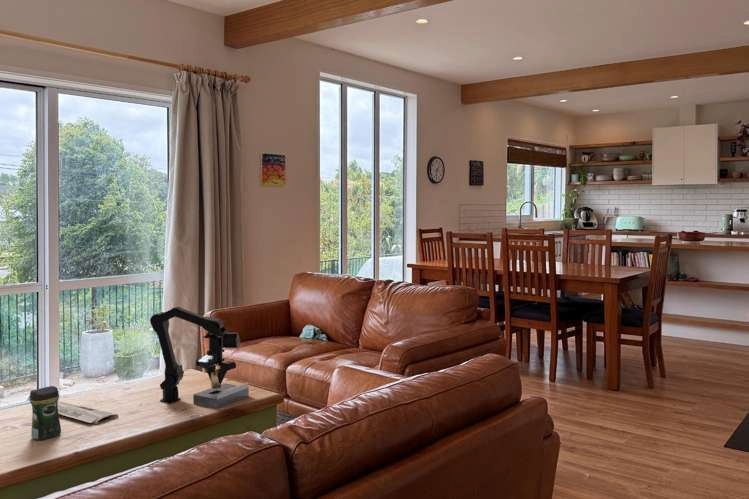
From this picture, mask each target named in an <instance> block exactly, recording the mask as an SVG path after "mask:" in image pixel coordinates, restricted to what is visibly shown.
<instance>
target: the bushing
mask: <svg viewBox="0 0 749 499" xmlns="http://www.w3.org/2000/svg"><path fill="white" fill-rule="evenodd" d="M221 385H222V383H221V384H219V377H218V372H217V369H215V371H211V381H210V388H212V389H218V388H221Z"/></svg>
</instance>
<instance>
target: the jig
mask: <svg viewBox="0 0 749 499" xmlns="http://www.w3.org/2000/svg"><path fill="white" fill-rule="evenodd" d="M249 386H250V384H249V382H245V383H244V382H243V383H241V384H238V385H237V384H232V383H227V382H225V383H221V388H218V389H212V388H211V387H210V388H207V389H205V390H202V391H199V392H196V393H193V394H192V396H193V397H192V398H193V401H192V402H193V404H194V405H199V406H204V407H208V408H212V409H219V408H222V407H225V406H227V405H229V404H230V405H231V404H233V403H235V402H238V401H240V400H242V399H245V398H248V397H250V392H249V391H250V388H249Z"/></svg>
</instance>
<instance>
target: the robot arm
mask: <svg viewBox="0 0 749 499" xmlns="http://www.w3.org/2000/svg"><path fill="white" fill-rule="evenodd" d="M173 318H177V319H180V320H182V321H183V320H184V321H186V322H189V323H192V324H194V325H197V326H200V327H201V328H202V329H203V330H205V331H206V332H207V333H206V334H205V335H204V336H203V338H204V339H208V350H206V354H205V355H204V356H202V357H198V358H197V359H196V361H195V366H198V367H199V366H200V368H201V369H204V370H205V371H206V373H207V375H208V377H209V380H210V382H211V371H215V370H217V372H218V377H219V384H221V385H222V384H223V380H224V378H225V376H226V374H227V373H228V371H230V370H234V369H236V368H237V363H236V362H235V361H232V360H227V361H225V358H224V357H223V353H224V352H225V349H239V348H240V345H241V339H240V335H239V332H229V331H228V329H227V328H226V327H225V325H224V321H223V320H222V319H221V318H218V317H212V316H211V317H210V316H203V315H201V314H199V313H196V312H193V311H191V310H187V309H185V308H184V307H181V306H174V307H171V309H169V310H167V311H160V312H157V313H155V314H152V316H151V317H150V318H149V323H150V325H151V327H152V330H153V331H154V332H155V333H156V335H157V337H158V341H159V345H160V349H161V353H162V357H163V361H164V364H165V365H164V366H165V368H164V380H163V381H162V382H161V383H160V384H159V387H160V389H161V390H162V398H161V399H159V401H160V402H163V403H167V404H168V403H169V404H172V403H174V402H177V401H180V400H181V397H179V388H178V385H179V383H180V382H181V381H182V379H183V378H184V374H185V372H184V369H183V364H179V363H178V362H177V361H176V356H175V352H174V348H173V345H172V340H171V337H170V334H169V329H170V320H171V319H173ZM224 348H225V349H224ZM217 367H218V369H216V368H217Z"/></svg>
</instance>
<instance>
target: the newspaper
mask: <svg viewBox="0 0 749 499" xmlns="http://www.w3.org/2000/svg"><path fill="white" fill-rule="evenodd" d="M58 414H59V416H63V417H67V418H70V419H74V420H78V421H83V422H85V423H90V424H95V425H99V424H100V422H99V421H100V420H102V419H104V418H106V419H107V418H108V419H110V420H111V419H115V418H116V419H117V418H119V415H118V414H117V413H112V412H108V411H104V410H99V409H95V408H91V407H86V406H83V405H77V404H72V403H68V402H63V401H59V400H58Z"/></svg>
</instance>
